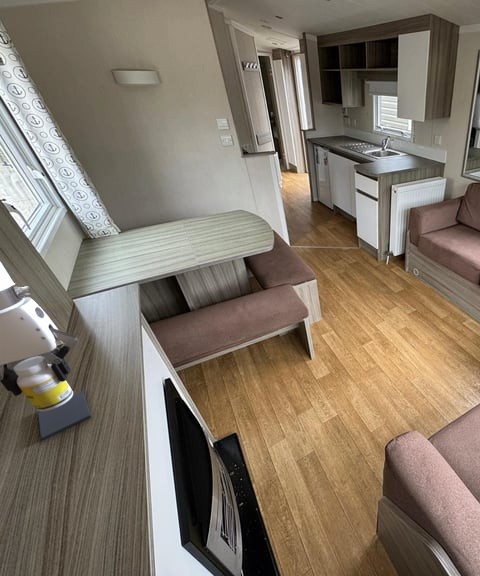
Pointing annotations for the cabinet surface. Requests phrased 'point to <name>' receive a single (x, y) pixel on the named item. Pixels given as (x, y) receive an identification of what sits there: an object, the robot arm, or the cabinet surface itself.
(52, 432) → the mat
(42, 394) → the supplement bottle
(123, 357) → the cabinet surface
